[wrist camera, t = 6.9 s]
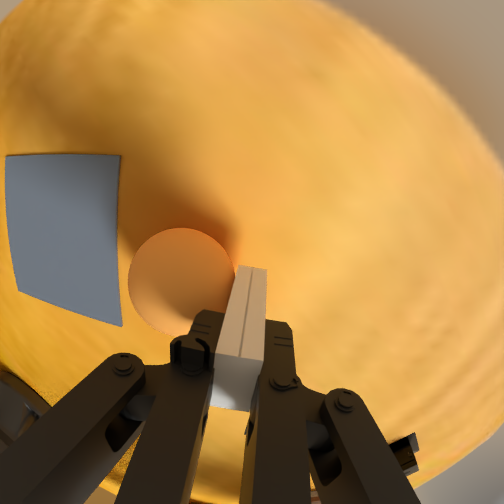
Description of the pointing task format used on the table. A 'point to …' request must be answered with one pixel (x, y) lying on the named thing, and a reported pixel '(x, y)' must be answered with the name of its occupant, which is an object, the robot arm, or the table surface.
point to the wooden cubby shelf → (315, 498)
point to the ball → (179, 279)
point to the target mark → (65, 230)
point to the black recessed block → (406, 453)
